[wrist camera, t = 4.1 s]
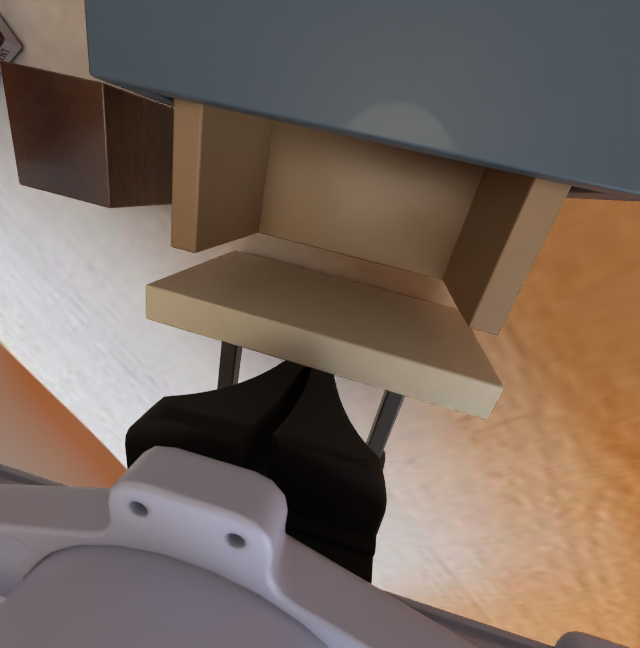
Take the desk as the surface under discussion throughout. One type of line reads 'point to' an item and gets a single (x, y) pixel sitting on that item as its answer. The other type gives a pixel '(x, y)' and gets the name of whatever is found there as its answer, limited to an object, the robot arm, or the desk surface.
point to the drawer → (352, 240)
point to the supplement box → (7, 43)
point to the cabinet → (404, 75)
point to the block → (88, 139)
